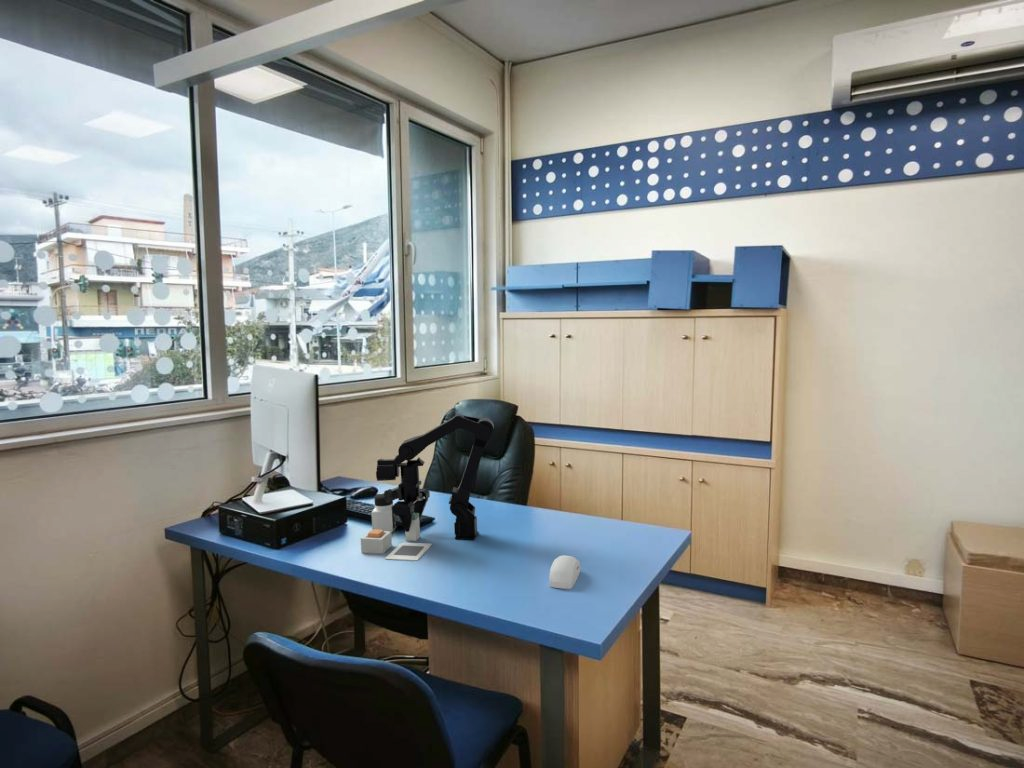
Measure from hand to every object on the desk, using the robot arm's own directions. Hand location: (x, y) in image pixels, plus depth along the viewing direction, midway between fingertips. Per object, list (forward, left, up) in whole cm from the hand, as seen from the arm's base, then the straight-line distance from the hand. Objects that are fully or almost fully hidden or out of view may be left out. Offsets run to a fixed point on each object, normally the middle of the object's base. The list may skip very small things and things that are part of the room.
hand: (412, 526), depth 197 cm
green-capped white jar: (0, 0, -4) cm, 4 cm away
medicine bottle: (+13, -8, -4) cm, 16 cm away
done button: (+8, +10, -1) cm, 13 cm away
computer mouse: (-52, +24, -4) cm, 58 cm away
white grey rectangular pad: (-3, +11, -4) cm, 12 cm away
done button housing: (+8, +10, -4) cm, 13 cm away
